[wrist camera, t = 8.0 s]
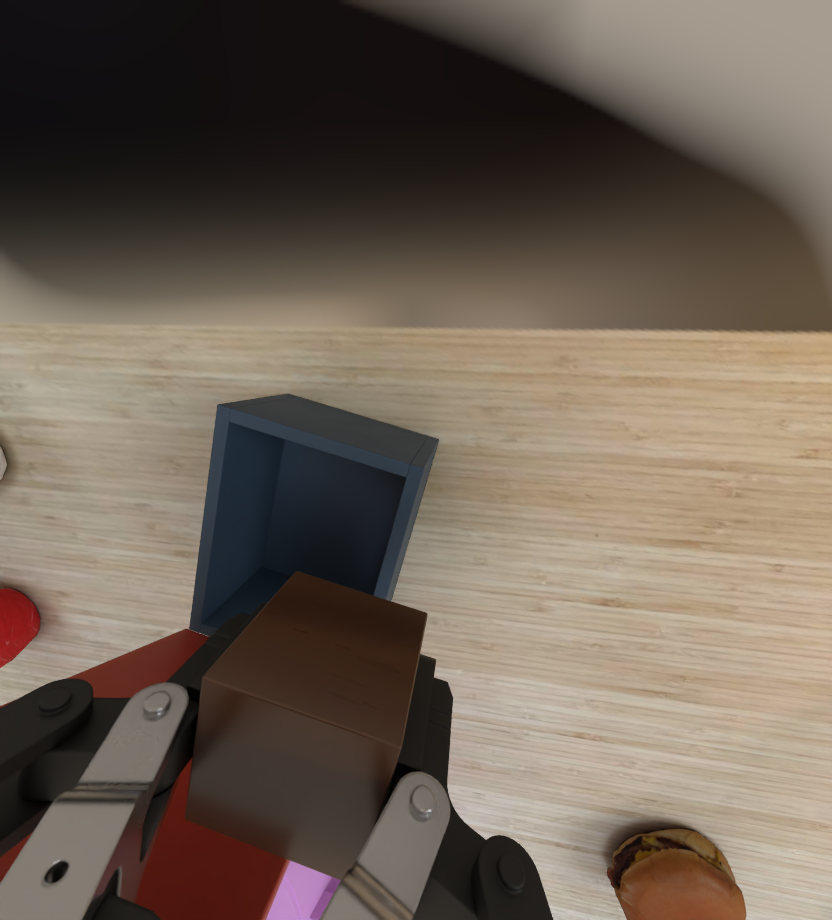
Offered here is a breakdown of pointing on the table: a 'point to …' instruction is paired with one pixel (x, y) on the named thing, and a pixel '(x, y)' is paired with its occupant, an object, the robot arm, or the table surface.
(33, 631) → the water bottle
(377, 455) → the box
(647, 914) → the burger
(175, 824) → the lunchbox lid
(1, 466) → the apple
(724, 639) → the table surface
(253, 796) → the block
